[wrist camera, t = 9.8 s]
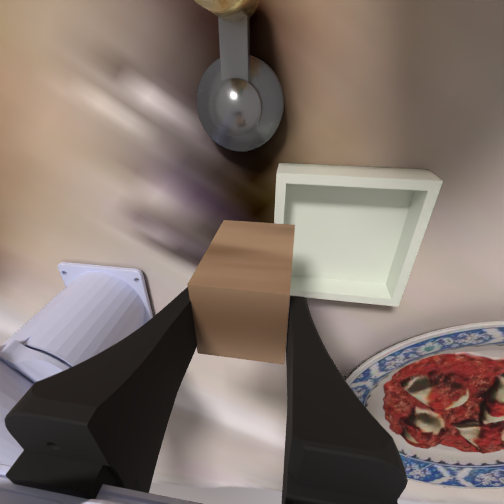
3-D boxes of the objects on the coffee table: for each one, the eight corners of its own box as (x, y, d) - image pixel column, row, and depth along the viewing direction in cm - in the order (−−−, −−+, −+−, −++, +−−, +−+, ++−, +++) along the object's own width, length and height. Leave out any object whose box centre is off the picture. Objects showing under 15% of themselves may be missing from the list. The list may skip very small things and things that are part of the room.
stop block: (290, 282, 18) (284, 364, 13) (227, 277, 19) (197, 353, 14) (295, 224, 16) (289, 294, 11) (223, 220, 17) (187, 284, 11)
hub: (281, 148, 19) (280, 153, 18) (205, 145, 19) (200, 149, 18) (287, 54, 16) (285, 53, 15) (199, 54, 17) (192, 53, 16)
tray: (390, 286, 23) (398, 306, 21) (273, 276, 24) (270, 293, 22) (427, 169, 18) (443, 181, 16) (279, 162, 19) (276, 172, 17)
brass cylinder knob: (262, 133, 17) (252, 148, 14) (215, 132, 17) (194, 147, 14) (264, -52, 13) (250, -95, 10) (203, -47, 13) (169, -89, 10)
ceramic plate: (317, 447, 37) (318, 474, 35) (353, 287, 24) (359, 313, 21) (543, 482, 34) (562, 515, 31) (733, 320, 20) (794, 355, 18)
